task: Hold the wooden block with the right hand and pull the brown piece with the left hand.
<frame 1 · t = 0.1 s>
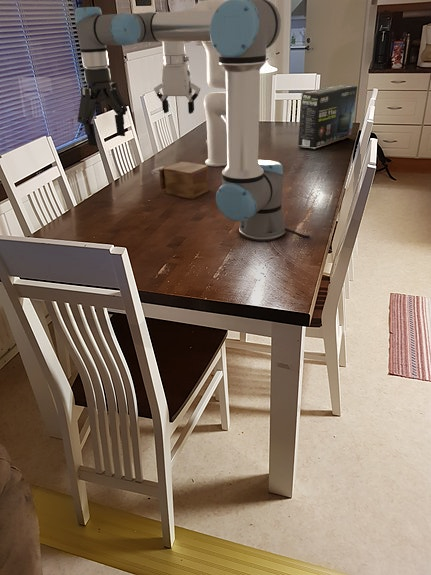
left hand: (178, 112, 167), 31 cm above the table, tool pointing down, fingers open, 9 cm apart
right hand: (107, 140, 148), 28 cm above the table, tool pointing down, fingers open, 13 cm apart
wooden block: (187, 191, 186), on the table
fossil: (222, 145, 249), on the table
brown piece: (173, 177, 187), point 5 cm above the table, slide at 2.0 cm
router box: (325, 143, 245), on the table
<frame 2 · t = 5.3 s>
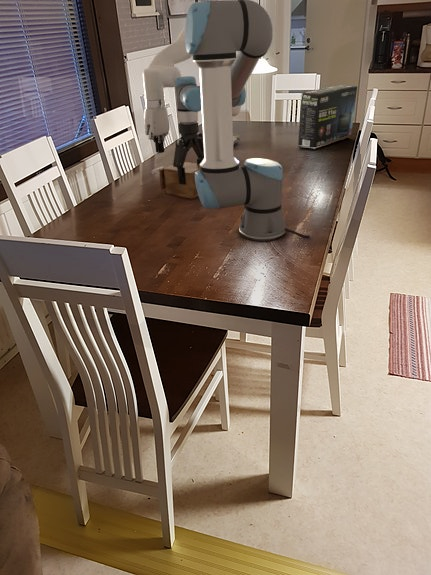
left hand: (160, 152, 185), 15 cm above the table, tool pointing down, fingers closed
right hand: (191, 179, 182), 6 cm above the table, tool pointing down, fingers closed on wooden block, 11 cm apart
wooden block: (187, 191, 186), on the table, touching right hand
everything else where it was.
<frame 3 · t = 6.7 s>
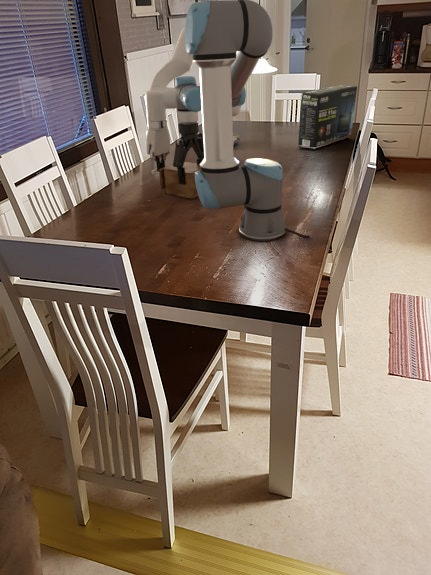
left hand: (161, 170, 189), 7 cm above the table, tool pointing down, fingers closed
right hand: (191, 179, 182), 6 cm above the table, tool pointing down, fingers closed on wooden block, 11 cm apart
wooden block: (187, 191, 186), on the table, touching right hand
brown piece: (173, 177, 187), point 5 cm above the table, slide at 2.0 cm, touching left hand
everything else where it was.
when the right hand's fingers open (6 cm above the table, at t = 9.7 s): wooden block stays where it is, on the table.
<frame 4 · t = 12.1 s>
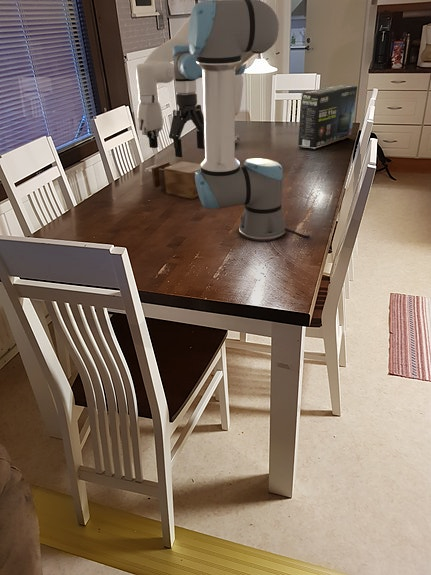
left hand: (153, 147, 186), 16 cm above the table, tool pointing down, fingers closed
right hand: (190, 152, 176), 16 cm above the table, tool pointing down, fingers open, 13 cm apart
wooden block: (187, 191, 186), on the table
brown piece: (165, 175, 189), point 5 cm above the table, slide at 6.1 cm
everything else where it was.
at the end: brown piece slide at 6.1 cm; wooden block tilted 0°; wooden block never tilted more than 1° during the clip; wooden block moved 0.1 cm from its start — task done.
